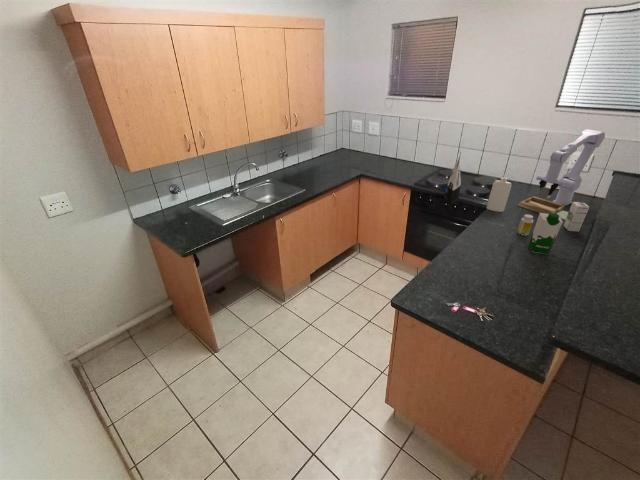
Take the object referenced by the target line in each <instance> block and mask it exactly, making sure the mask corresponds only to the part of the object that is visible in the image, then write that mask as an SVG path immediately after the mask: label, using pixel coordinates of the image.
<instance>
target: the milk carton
mask: <svg viewBox="0 0 640 480" xmlns="http://www.w3.org/2000/svg"><path fill="white" fill-rule="evenodd" d="M563 224H564V221H563V219H561V218H560V217H559V215H558V214H556V213H555V214H554V213H549V214H545V213H539V214H538V217H537V220H536V224H535V226H534V228H533V230H532V231H533V232H532V233H531V236H530V240H529V241H528V242H529V243H528V245H529V246H530V248H531V250H532V251H534V252H541V253H545V254H548V255H549V254H550V252H551V250H552V248H553V246H554V243H555V241H556V239H557V236H558V234H559V232H560V230H561V229H560V228H561V227H562V225H563ZM529 246H528V247H529ZM530 248H529V249H530Z"/></svg>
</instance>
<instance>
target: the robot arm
mask: <svg viewBox="0 0 640 480" xmlns="http://www.w3.org/2000/svg"><path fill="white" fill-rule="evenodd" d="M605 136H606V133H605V132H604V131H600V130H594V129H588V128H585V129H584V130H582V131H581V132H580V134H579V137H578V138H576V139H575V140H574V141H573V142H569V143H567V144H566V145H565V146H563V147H562V148H561V149H559V150H555V151H553V152H552V153H551V155H550V158H549V159H550V160H549V161H550V162H549V163H550V165H549V167H548V169H547V172H546V175H545V176H541V175H537V176H536V178H535V179H536V181H539V190H541V187H545V186H547V184H548V183H549V184H551V186H550V187H551V189H550V192H549V194H548V196H552V195H551V194H553V193H554V192H555V190H556V189H558V192H557V194H556V197H555V199H554V200H552V201H551V202H554V203H558V204H561V205H564V206H569V205H570V204H572V203H573V201H572V199H573V197H574V195H575V191H577V190H578V189H580V187H581V184H582V182H583V179H582V177H581V176H580V175H581V174H582V173H581V172H582V171H583V170H584V169H585V166H586V165H587V163H588V161H589V160H590V158H591V156H592V155H593V153H594V151H595V150H596V149H597V148H599V147H601V145H602V143H603V141H604V139H605V138H606V137H605ZM582 145H583V146H584V148H583V149H582V151H581V153H580V154H579V156H578V158H577V159H576V161H575V163H574V165H573V167H572V168H571V170H570V171H569V172H567V173H564V174H563V175H562V177H560V179H559V180H558V178H559V176H560V173H561V171H562V167H563V165H564V163H566V161H568V159H569V158H570V156H571V155H572V154H575V152H576V151H577V150H578V148H579V147H581V146H582Z"/></svg>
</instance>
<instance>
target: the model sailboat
mask: <svg viewBox="0 0 640 480" xmlns="http://www.w3.org/2000/svg"><path fill="white" fill-rule="evenodd" d="M461 154H462V151H460V153H459V155H461ZM460 159H461V156H459V157H458V159H457V161H456V163H455V165H454V167H453V168H452V171H451V173H450V176H449V180H448V181H447V184H446V187H445V188H446V189H445V191H444V194H443V200H444V201H445V202H446V203H448V204H449V205H452V204H455V203H457V202H458V201H459V199H460V193H461V186H462V180H461V165H460V164H461V163H460Z"/></svg>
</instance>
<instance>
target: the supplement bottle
mask: <svg viewBox="0 0 640 480" xmlns="http://www.w3.org/2000/svg"><path fill="white" fill-rule="evenodd" d="M533 224H534V216H533V215H532V214H524V216H523V217H522V218H521V219H520V221H519V224H518V227H517V230H516V233H517V232H518V233H519V235H520V234H521V235H520V236H529V235H530V232H531V230H532V226H533ZM518 233H517V234H518Z"/></svg>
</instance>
